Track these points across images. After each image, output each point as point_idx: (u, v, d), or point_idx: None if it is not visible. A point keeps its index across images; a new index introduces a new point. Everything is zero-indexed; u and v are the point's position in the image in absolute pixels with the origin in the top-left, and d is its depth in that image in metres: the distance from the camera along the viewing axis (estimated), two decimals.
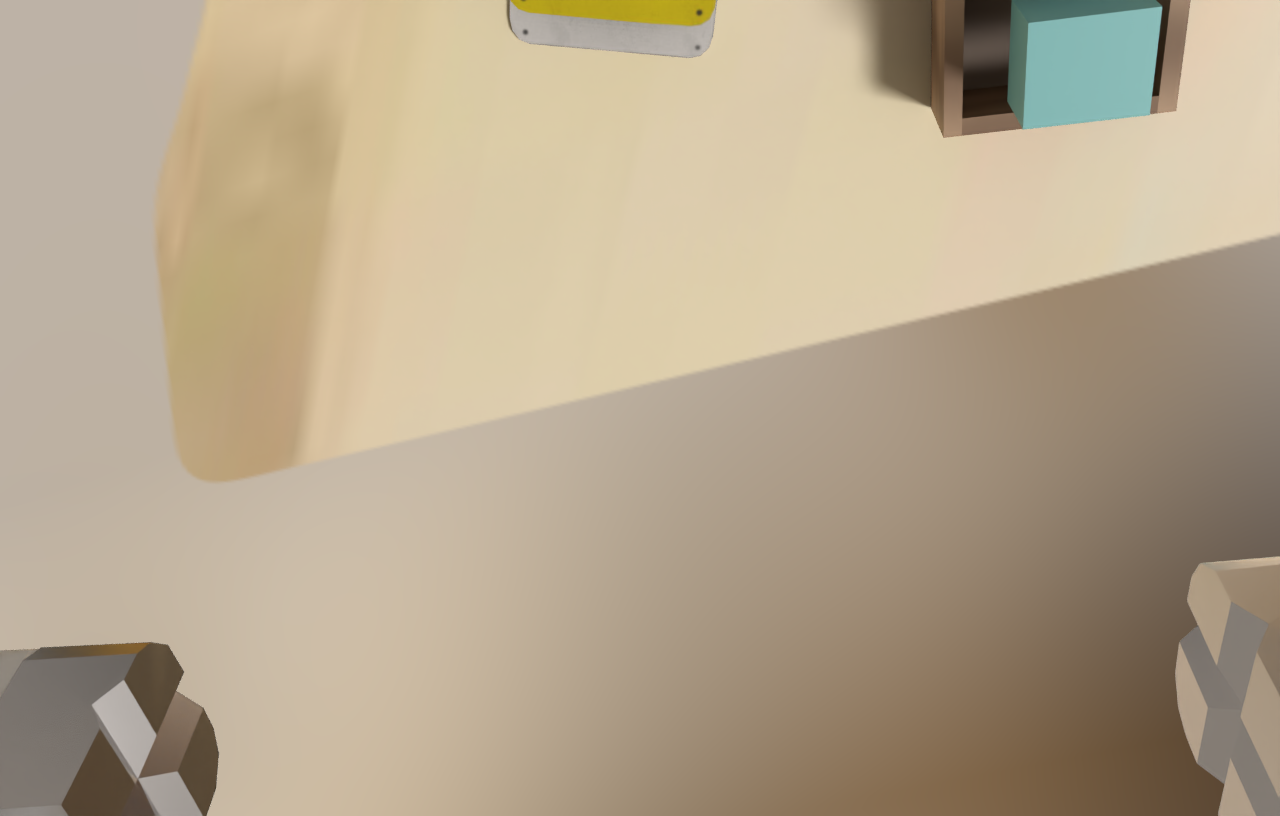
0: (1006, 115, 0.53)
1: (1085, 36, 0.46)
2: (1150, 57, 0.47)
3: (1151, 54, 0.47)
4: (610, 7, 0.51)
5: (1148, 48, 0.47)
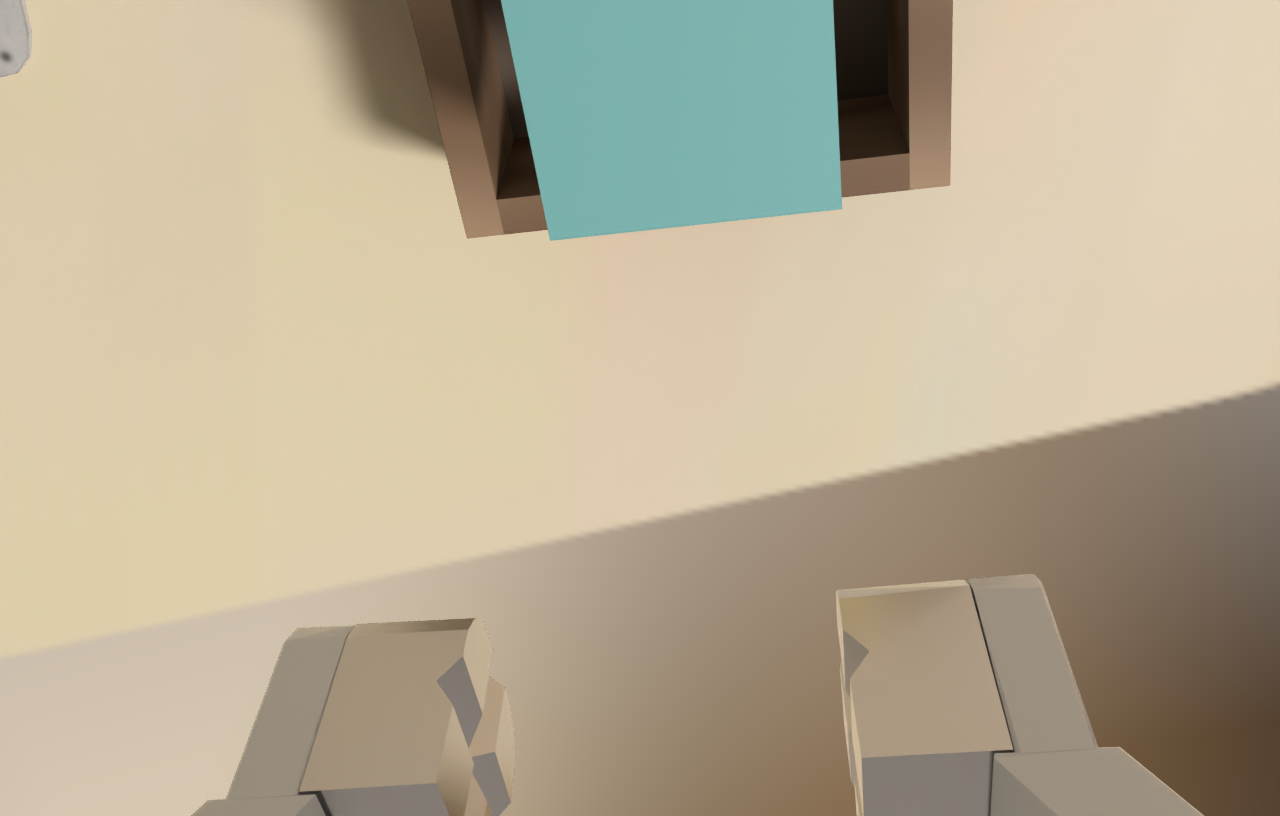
0: None
1: (648, 18, 0.18)
2: (821, 71, 0.19)
3: (822, 64, 0.19)
4: None
5: (812, 48, 0.19)
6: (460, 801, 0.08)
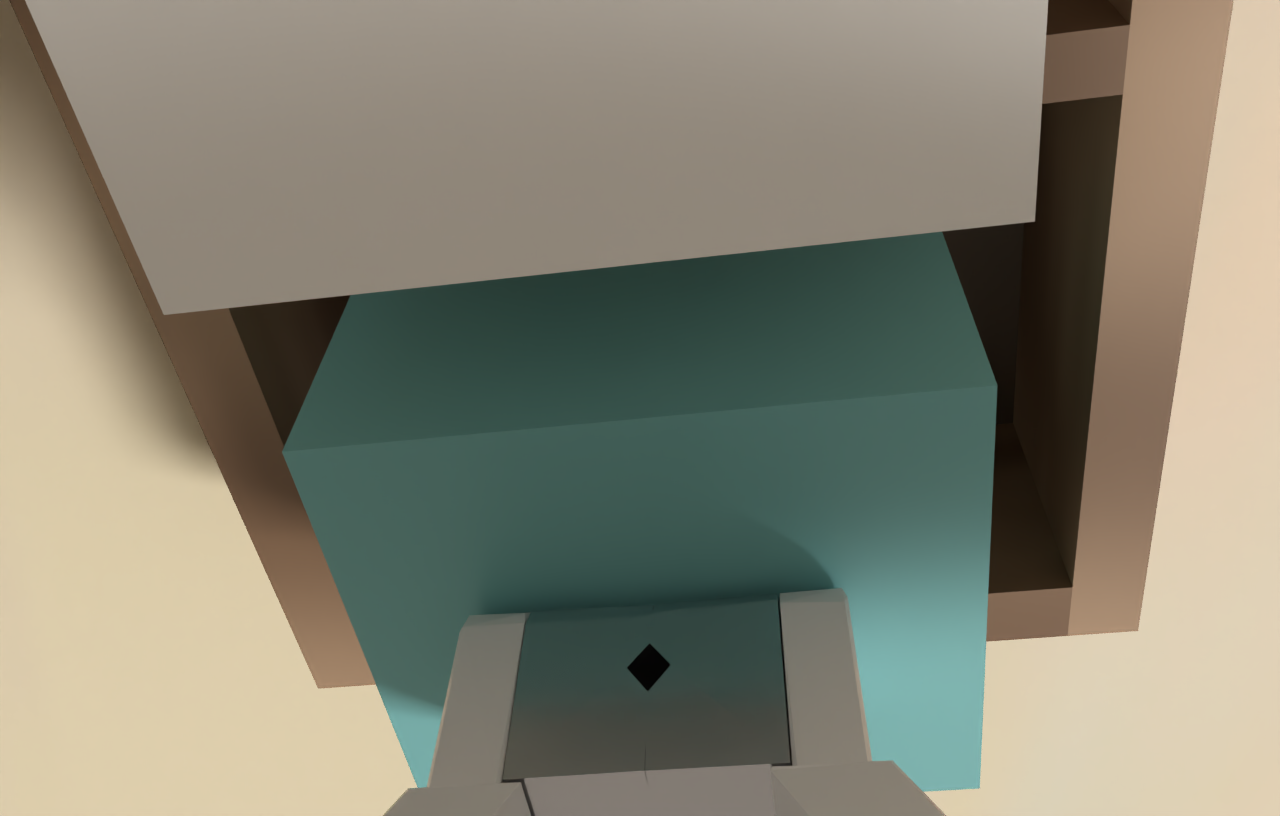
0: None
1: (603, 511, 0.09)
2: (958, 595, 0.09)
3: (961, 586, 0.09)
4: None
5: (943, 561, 0.09)
6: None
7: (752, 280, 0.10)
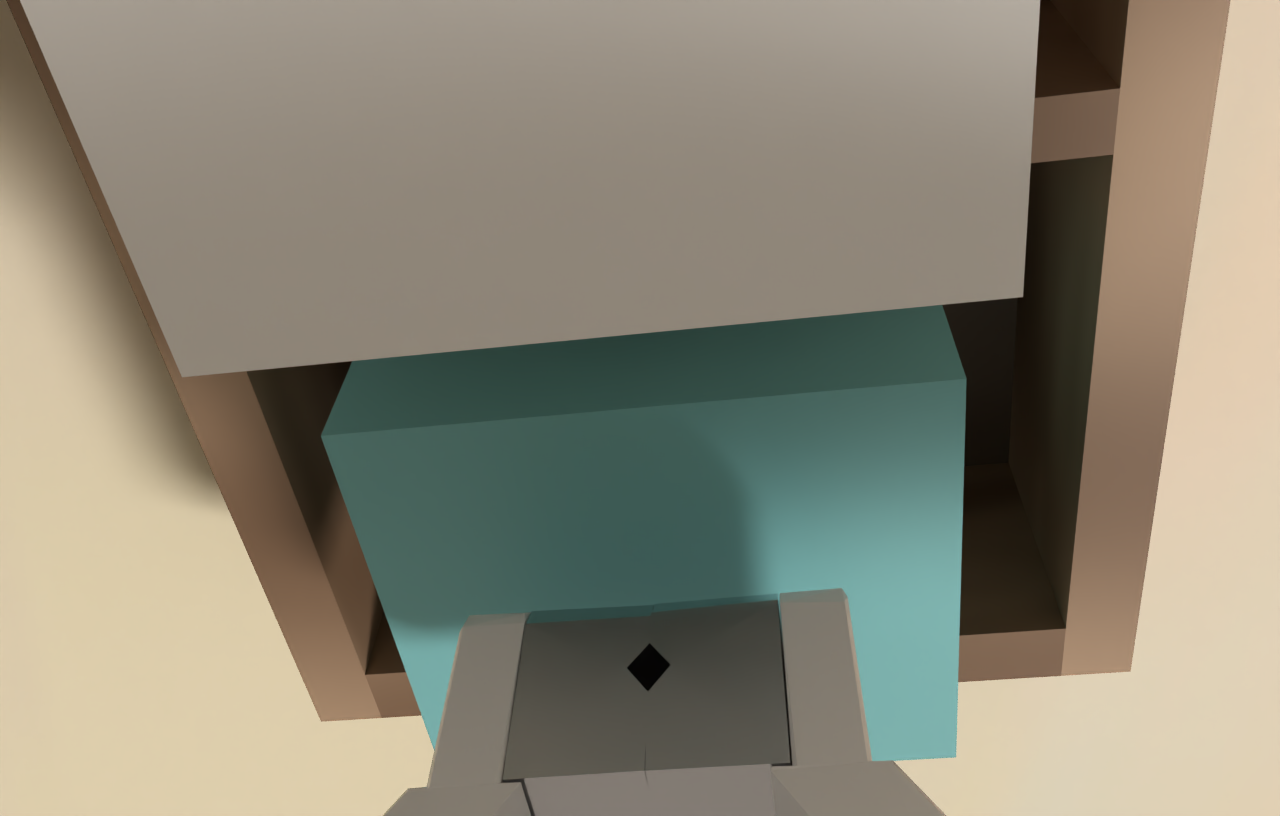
0: None
1: (611, 492, 0.10)
2: (933, 573, 0.10)
3: (936, 564, 0.10)
4: None
5: (920, 541, 0.10)
6: None
7: None
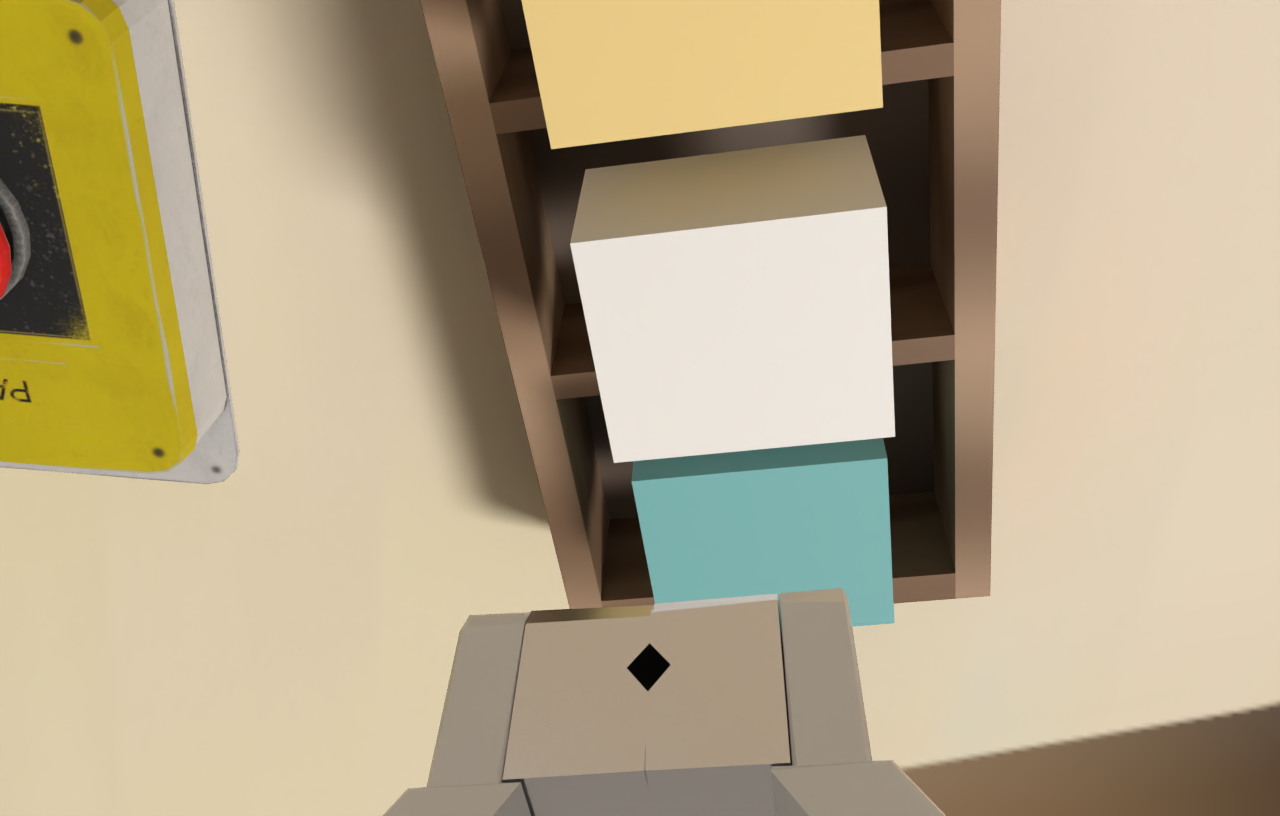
0: None
1: (746, 503, 0.24)
2: (879, 537, 0.24)
3: (879, 533, 0.24)
4: None
5: (872, 523, 0.24)
6: None
7: None
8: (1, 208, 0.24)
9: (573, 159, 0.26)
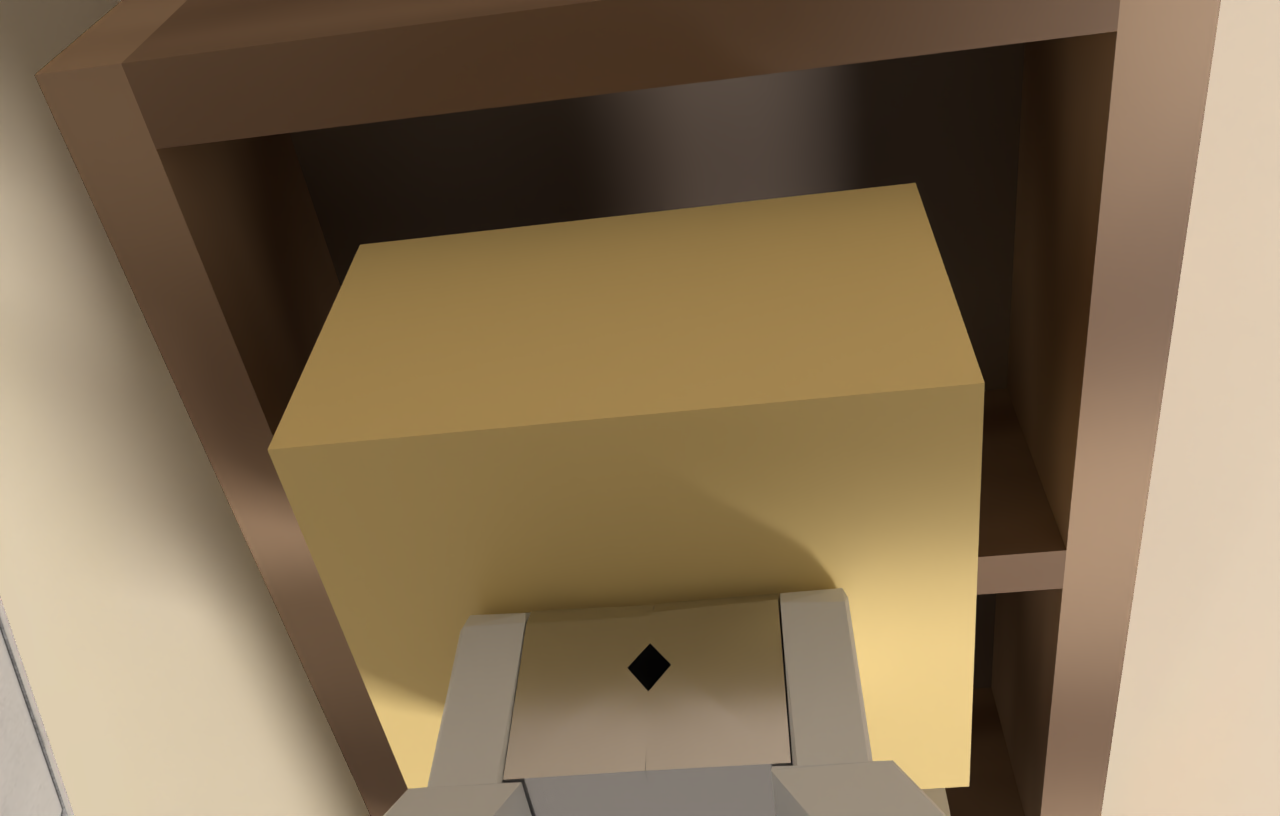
0: None
1: None
2: None
3: None
4: None
5: None
6: None
7: None
8: None
9: None
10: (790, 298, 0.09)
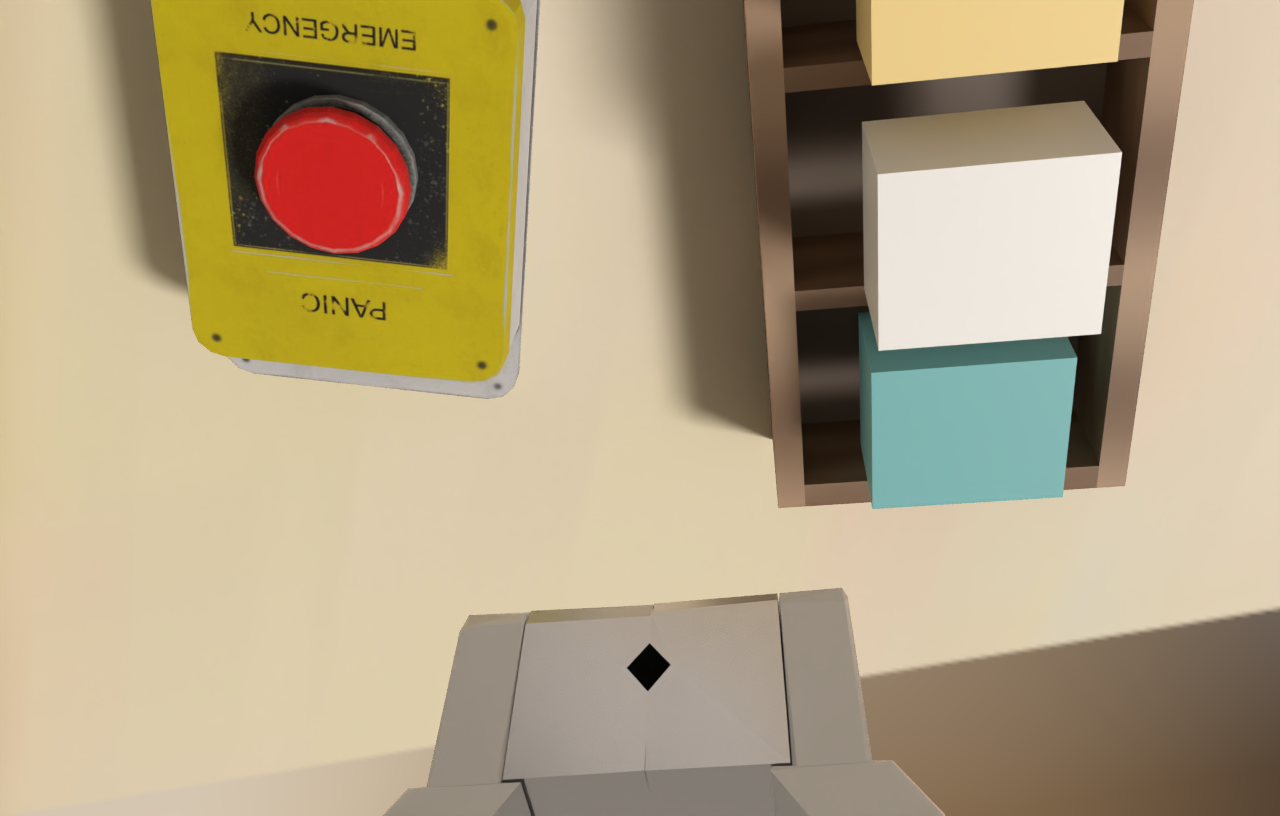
0: None
1: (960, 393, 0.30)
2: (1061, 423, 0.30)
3: (1062, 420, 0.30)
4: (348, 354, 0.34)
5: (1057, 411, 0.30)
6: None
7: None
8: (403, 159, 0.30)
9: (813, 117, 0.32)
10: None
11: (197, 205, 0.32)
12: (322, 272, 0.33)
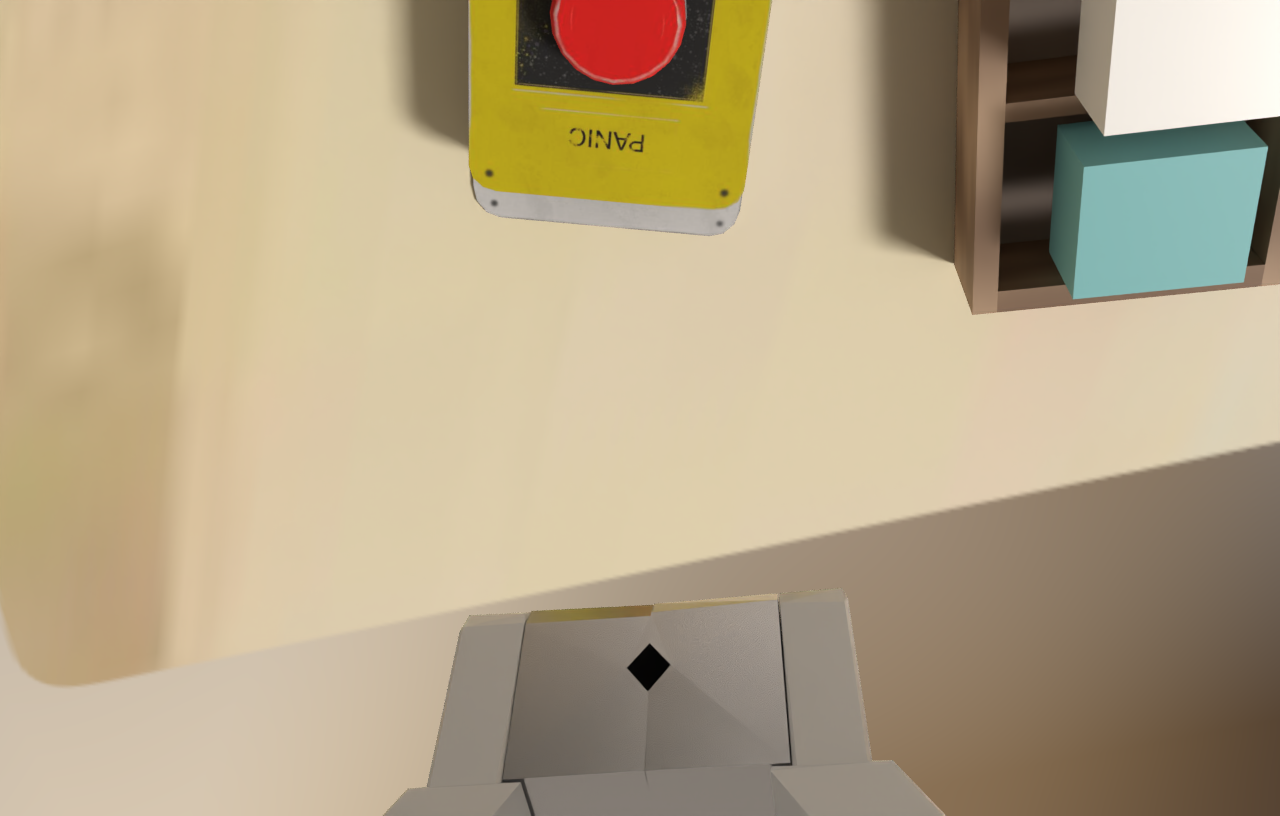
0: (1057, 287, 0.39)
1: (1160, 184, 0.34)
2: (1248, 210, 0.35)
3: (1250, 207, 0.34)
4: (605, 186, 0.38)
5: (1246, 199, 0.34)
6: None
7: (1189, 128, 0.35)
8: None
9: None
10: None
11: (486, 46, 0.36)
12: (591, 107, 0.37)
